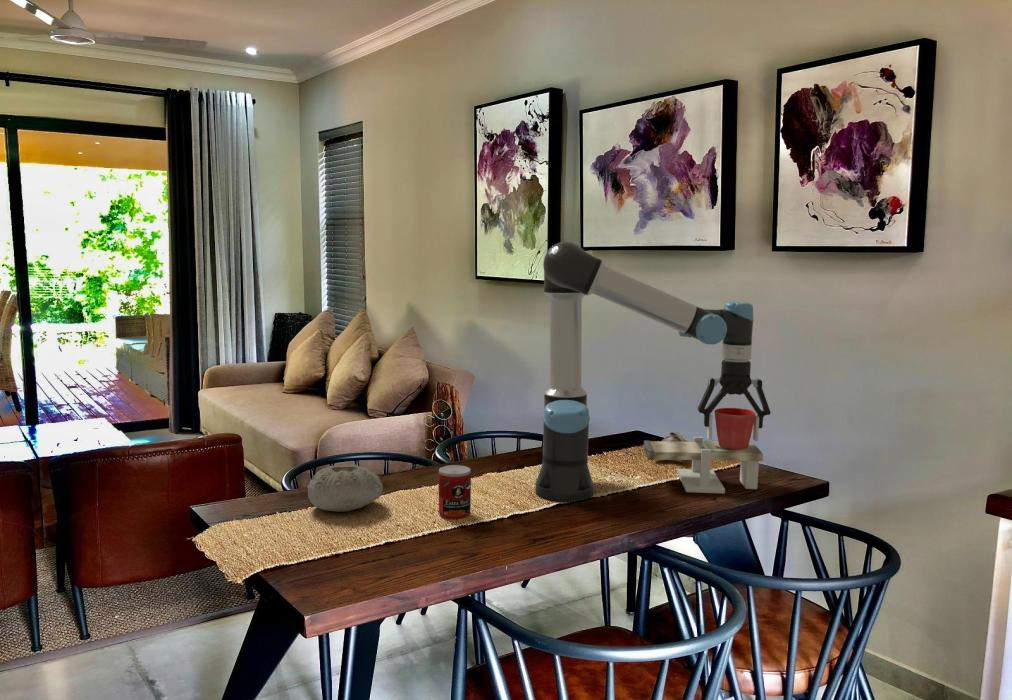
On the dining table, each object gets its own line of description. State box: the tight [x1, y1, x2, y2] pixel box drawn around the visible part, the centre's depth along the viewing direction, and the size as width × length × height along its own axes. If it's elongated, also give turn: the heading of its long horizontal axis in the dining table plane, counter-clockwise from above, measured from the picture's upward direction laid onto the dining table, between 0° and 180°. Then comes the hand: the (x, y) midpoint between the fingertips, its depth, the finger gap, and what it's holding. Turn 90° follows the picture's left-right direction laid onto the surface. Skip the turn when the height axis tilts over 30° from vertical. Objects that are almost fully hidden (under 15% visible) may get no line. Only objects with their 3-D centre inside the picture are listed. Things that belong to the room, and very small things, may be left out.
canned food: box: [438, 464, 472, 520], centre depth 193 cm, size 8×8×11 cm
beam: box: [643, 440, 764, 462], centre depth 222 cm, size 30×12×3 cm, turn 85°
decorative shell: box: [306, 464, 384, 513], centre depth 197 cm, size 18×18×10 cm
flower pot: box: [713, 407, 756, 449], centre depth 220 cm, size 11×11×10 cm
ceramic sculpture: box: [661, 431, 686, 463], centre depth 246 cm, size 11×9×15 cm
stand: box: [676, 436, 760, 494], centre depth 222 cm, size 20×18×11 cm
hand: (732, 439), depth 221 cm, fingers open, 12 cm apart
